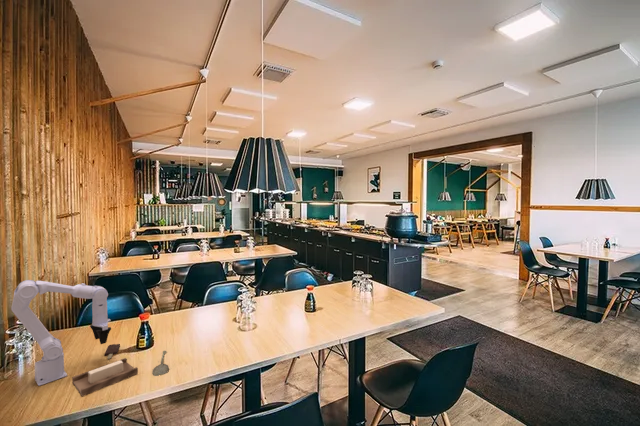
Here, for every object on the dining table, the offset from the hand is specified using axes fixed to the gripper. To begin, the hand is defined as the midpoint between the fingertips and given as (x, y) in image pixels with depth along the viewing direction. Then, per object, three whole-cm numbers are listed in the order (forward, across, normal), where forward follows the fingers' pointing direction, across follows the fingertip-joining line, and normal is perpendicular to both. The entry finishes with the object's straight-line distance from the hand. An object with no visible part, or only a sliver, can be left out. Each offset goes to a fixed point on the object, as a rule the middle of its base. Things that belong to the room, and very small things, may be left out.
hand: (100, 340), depth 143 cm
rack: (+10, -17, +3) cm, 20 cm away
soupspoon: (+11, -24, -18) cm, 32 cm away
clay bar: (+9, -17, +3) cm, 20 cm away
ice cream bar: (+11, +7, -6) cm, 15 cm away
